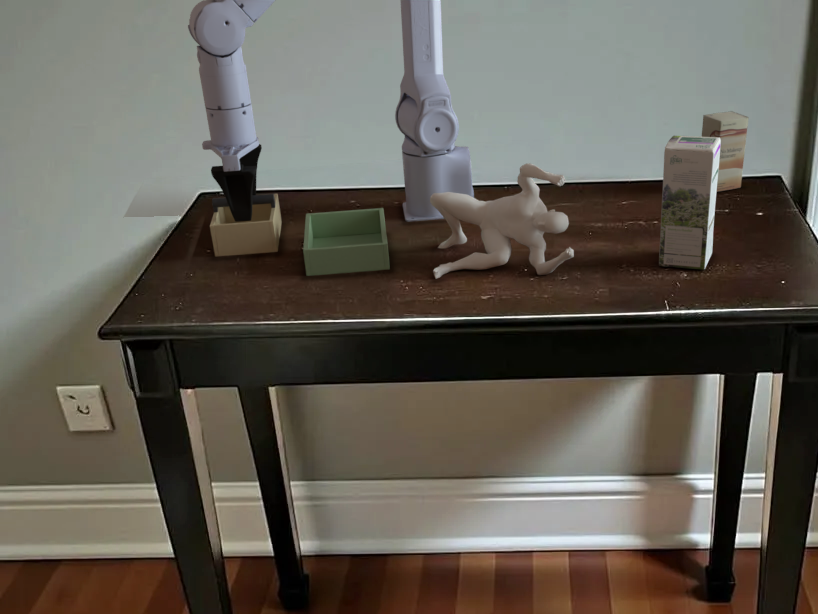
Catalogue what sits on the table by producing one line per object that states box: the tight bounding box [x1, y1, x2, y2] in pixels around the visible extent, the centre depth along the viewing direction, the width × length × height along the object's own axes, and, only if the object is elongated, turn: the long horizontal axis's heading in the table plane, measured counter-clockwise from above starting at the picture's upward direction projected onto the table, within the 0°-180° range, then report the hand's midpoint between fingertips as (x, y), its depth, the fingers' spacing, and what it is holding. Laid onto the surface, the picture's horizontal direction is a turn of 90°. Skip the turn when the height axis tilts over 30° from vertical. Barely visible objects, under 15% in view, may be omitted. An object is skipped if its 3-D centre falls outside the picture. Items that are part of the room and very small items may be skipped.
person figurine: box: [430, 162, 575, 280], centre depth 130 cm, size 13×13×18 cm
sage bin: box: [302, 207, 391, 277], centre depth 136 cm, size 10×14×4 cm
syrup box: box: [658, 135, 721, 271], centre depth 126 cm, size 6×6×14 cm
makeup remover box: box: [700, 110, 749, 193], centre depth 152 cm, size 5×4×10 cm
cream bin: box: [209, 193, 283, 257], centre depth 141 cm, size 8×12×6 cm, turn 7°
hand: (245, 211), depth 141 cm, fingers open, 7 cm apart
